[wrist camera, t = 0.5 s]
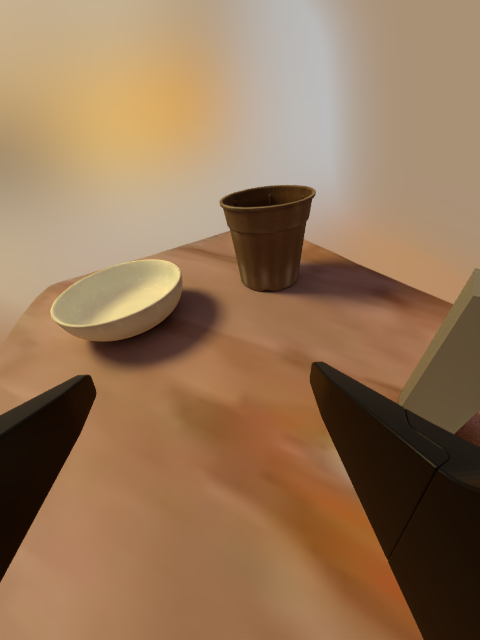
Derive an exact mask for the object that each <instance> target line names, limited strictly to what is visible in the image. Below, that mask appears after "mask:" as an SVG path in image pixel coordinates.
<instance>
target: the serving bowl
mask: <svg viewBox="0 0 480 640" xmlns="http://www.w3.org/2000/svg"><path fill="white" fill-rule="evenodd" d="M181 293H182V275H181V271H180V269H179V268H178V267H177V266H176V265H175V264H173V263H171V262H168V261H163V260H138V261H132V262H127V263H123V264H119V265H116V266H112V267H109V268H106V269H103V270H101V271H98V272H96V273H93V274H91V275H89V276H87V277H85V278H83V279H81V280H80V281H78V282H76V283H75V284H73V285H72V286H70V287H69V288H68V289H66V290H65V291H64V292H63V293H62V294H61V295H60V296H59V297H58V298H57V299H56V300H55V302H54V303H53V305H52V307H51V317H52V319H53V320H54V321H55V322H56V323H57V324H58V325H59V326H60V327H61V328H63V329H64V330H65V331H67V332H68V333H70V334H72V335H74V336H76V337H79V338H82V339H86V340H91V341H103V342H104V341H116V340H122V339H126V338H130V337H133V336H136V335H138V334H141V333H143V332H145V331H147V330H149V329H151V328H153V327H154V326H156V325H158V324H159V323H160V322H162V321H163V320H164V319H165V318H166V317H167V316H168V315H170V313H171V312H172V311H173V310H174V308H175V307H176V305H177V304H178V302H179V299H180V297H181Z"/></svg>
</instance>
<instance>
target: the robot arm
mask: <svg viewBox="0 0 480 640" xmlns="http://www.w3.org/2000/svg"><path fill="white" fill-rule="evenodd" d="M310 384H311V387H312V390H313V393H314V396H315V399H316V402H317V405H318V408H319V411H320V414H321V417H322V419H323V421H324V423H325V426H326V428H327V430H328V432H329V434H330V437H331V439H332V441H333V443H334V445H335V447H336V450H337V452H338V454H339V456H340V458H341V460H342V463H343V465H344V467H345V469H346V471H347V473H348V476H349V478H350V480H351V482H352V484H353V486H354V489H355V491H356V493H357V495H358V497H359V499H360V502H361V504H362V506H363V508H364V510H365V512H366V515H367V517H368V519H369V521H370V523H371V526H372V528H373V530H374V532H375V534H376V536H377V539H378V541H379V543H380V545H381V547H382V549H383V552H384V554H385V556H386V558H387V559H388V563H389V565H390V567H391V569H392V572H393V574H394V576H395V578H396V580H397V582H398V585H399V587H400V589H401V591H402V593H403V595H404V598H405V600H406V602H407V604H408V606H409V608H410V611H411V613H412V615H413V617H414V619H415V621H416V624H417V626H418V628H419V630H420V632H421V635H422V637H423V639H424V640H480V447H479V446H477V445H475V444H473V443H471V442H469V441H467V440H465V439H463V438H461V437H459V436H457V435H455V434H453V433H451V432H449V431H447V430H445V429H443V428H441V427H439V426H437V425H435V424H433V423H431V422H429V421H428V420H426V419H424V418H422V417H420V416H418V415H417V414H415V413H413V412H411V411H410V410H408V409H404V407H402V406H401V405H399V404H397V403H395V402H393V401H392V400H390V399H388V398H386V397H385V396H383V395H381V394H379V393H377V392H376V391H374V390H372V389H370V388H368V387H367V386H365V385H363V384H361V383H360V382H358V381H356V380H354V379H352V378H351V377H349V376H347V375H345V374H344V373H342V372H340V371H338V370H336V369H335V368H333V367H331V366H329V365H328V364H326V363H324V362H313V363H312V366H311V373H310ZM95 397H96V389H95V386H94V383H93V380H92V378H91V376H90V375H77V376H75V377H73V378H71V379H69V380H67V381H65V382H64V383H62V384H60V385H58V386H56V387H54V388H52V389H50V390H48V391H46V392H44V393H42V394H40V395H38V396H37V397H35V398H33V399H31V400H29V401H27V402H25V403H23V404H21V405H19V406H17V407H15V408H13V409H12V410H10V411H8V412H6V413H4V414H2V415H0V582H1V580H2V578H3V577H4V575H5V573H6V571H7V569H8V567H9V565H10V564H11V562H12V560H13V558H14V556H15V554H16V552H17V551H18V549H19V547H20V545H21V543H22V541H23V539H24V537H25V536H26V534H27V532H28V530H29V528H30V526H31V524H32V523H33V521H34V519H35V517H36V515H37V513H38V511H39V510H40V508H41V506H42V504H43V502H44V500H45V498H46V497H47V495H48V493H49V491H50V489H51V487H52V485H53V484H54V482H55V480H56V478H57V476H58V474H59V472H60V471H61V469H62V467H63V465H64V463H65V461H66V459H67V458H68V456H69V454H70V452H71V450H72V448H73V446H74V445H75V443H76V441H77V439H78V437H79V435H80V433H81V431H82V429H83V426H84V424H85V421H86V419H87V417H88V414H89V412H90V409H91V407H92V405H93V402H94V400H95Z"/></svg>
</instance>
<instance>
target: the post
mask: <svg viewBox="0 0 480 640" xmlns="http://www.w3.org/2000/svg"><path fill="white" fill-rule="evenodd" d="M398 404H399V405H401V406H402V407H404V409H408V410H410V411H411V412H413V413H415V414H417V415H418V416H420V417H422V418H424V419H426V420H428V421H429V422H431V423H433V424H435V425H437V426H439V427H441V428H443V429H445V430H447V431H449V432H451V433H453V434H455V433H456V432H457V431H458V430H459V429H460V428H461V427H462V426H463V425H464V424H465V423H466V422H467V421H469V420H470V419H471V418H472V417H473V416H474V415H475V414H476V413H477V412H478V411H479V410H480V269H475V270H474V271H473V273H472V275H471V276H470V278H469V280H468V281H467V283H466V285H465V287H464V288H463V290H462V291H461V293H460V295H459V296H458V298H457V300H456V301H455V303H454V305H453V306H452V308H451V310H450V311H449V313H448V315H447V316H446V318H445V320H444V321H443V323H442V325H441V326H440V328H439V330H438V331H437V333H436V335H435V336H434V338H433V340H432V341H431V343H430V345H429V347H428V348H427V350H426V352H425V353H424V355H423V357H422V358H421V360H420V362H419V363H418V365H417V367H416V368H415V370H414V372H413V373H412V375H411V377H410V378H409V380H408V382H407V383H406V385H405V387H404V388H403V390H402V392H401V395H400V399H399V402H398Z"/></svg>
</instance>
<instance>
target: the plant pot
mask: <svg viewBox="0 0 480 640" xmlns="http://www.w3.org/2000/svg"><path fill="white" fill-rule="evenodd" d="M315 193H316V191H315V190H314V189H313V188H311V187H307V186H297V185H280V186H279V185H278V186H265V187H257V188H251V189H247V190H243V191H239V192H235V193H232V194H229V195H227V196H225V197H223V198H222V199H221V200H220V206H221V207H222V208H223V209H224V213H225V217H226V221H227V225H228V226H229V228H230V231H231V236H232V240H233V244H234V249H235V253H236V258H237V262H238V267H239V271H240V276H241V281H242V283H243V284H244V285H245V286H247V287H248V288H250V289H253V290H256V291H264V290H271V291H278V290H282V289H285V288H287V287H289V286H291V285H292V284H294V283H295V282H296V280H297V278H298V273H299V266H300V259H301V253H302V246H303V240H304V233H305V227H306V221H307V220H308V218H309V213H310V207H311V202H312V198H314V196H315Z"/></svg>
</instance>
